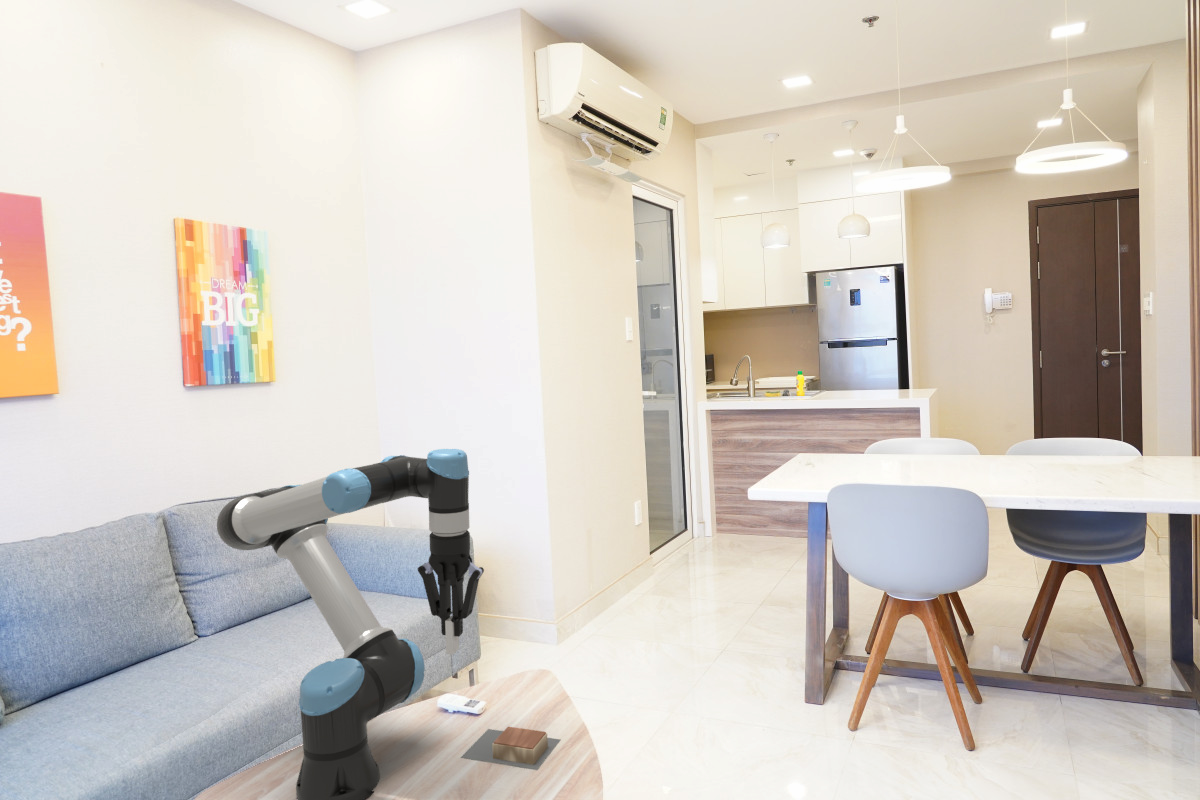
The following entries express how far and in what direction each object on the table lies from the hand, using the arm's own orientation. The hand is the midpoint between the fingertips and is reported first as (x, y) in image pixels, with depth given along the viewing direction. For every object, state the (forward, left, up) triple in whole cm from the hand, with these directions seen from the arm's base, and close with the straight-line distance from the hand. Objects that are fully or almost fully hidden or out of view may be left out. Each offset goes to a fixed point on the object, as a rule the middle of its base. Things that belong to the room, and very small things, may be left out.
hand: (452, 651), depth 149 cm
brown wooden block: (+4, +10, -23) cm, 25 cm away
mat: (+6, +11, -25) cm, 28 cm away
